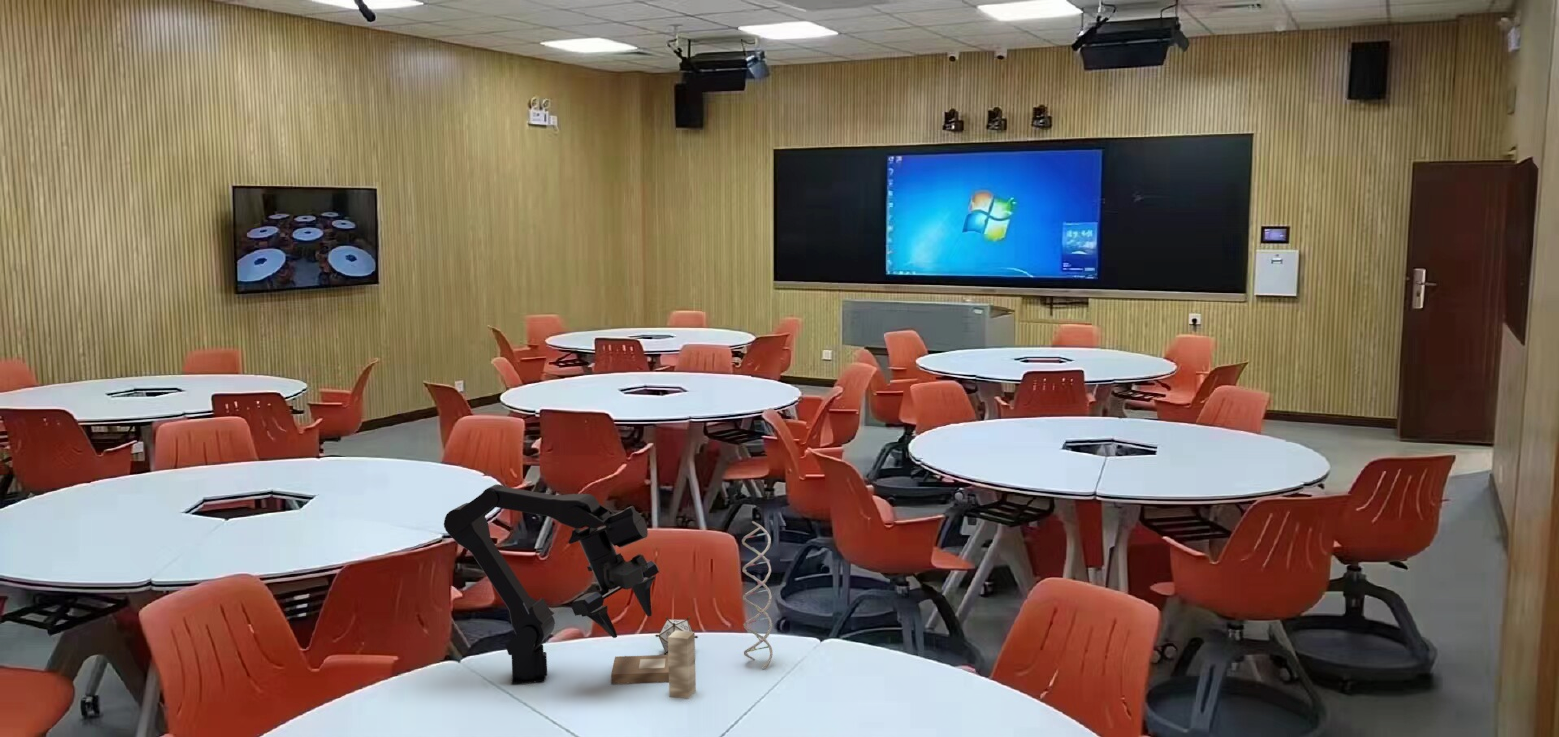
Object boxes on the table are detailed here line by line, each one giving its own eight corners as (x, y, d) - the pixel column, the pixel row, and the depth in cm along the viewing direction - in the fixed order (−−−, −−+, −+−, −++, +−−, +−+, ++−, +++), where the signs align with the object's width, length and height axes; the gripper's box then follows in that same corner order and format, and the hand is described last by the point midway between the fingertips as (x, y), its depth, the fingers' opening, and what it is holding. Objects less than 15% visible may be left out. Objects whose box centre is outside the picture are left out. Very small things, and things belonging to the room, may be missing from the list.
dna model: (739, 661, 245) (736, 521, 242) (768, 657, 247) (766, 519, 244) (747, 672, 239) (745, 529, 236) (777, 668, 241) (775, 526, 238)
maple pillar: (669, 696, 227) (667, 636, 226) (676, 688, 231) (675, 630, 229) (688, 698, 226) (687, 638, 225) (695, 690, 230) (694, 631, 228)
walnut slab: (611, 683, 234) (611, 673, 234) (615, 665, 244) (615, 656, 243) (691, 680, 235) (691, 670, 234) (692, 663, 245) (691, 653, 244)
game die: (684, 668, 252) (709, 628, 254) (677, 668, 244) (703, 627, 245) (650, 645, 254) (676, 605, 255) (642, 644, 246) (668, 603, 247)
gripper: (586, 570, 220) (619, 646, 220) (658, 530, 233) (689, 601, 233) (556, 577, 228) (588, 649, 229) (628, 538, 241) (658, 606, 241)
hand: (632, 626), depth 233 cm, fingers open, 9 cm apart
